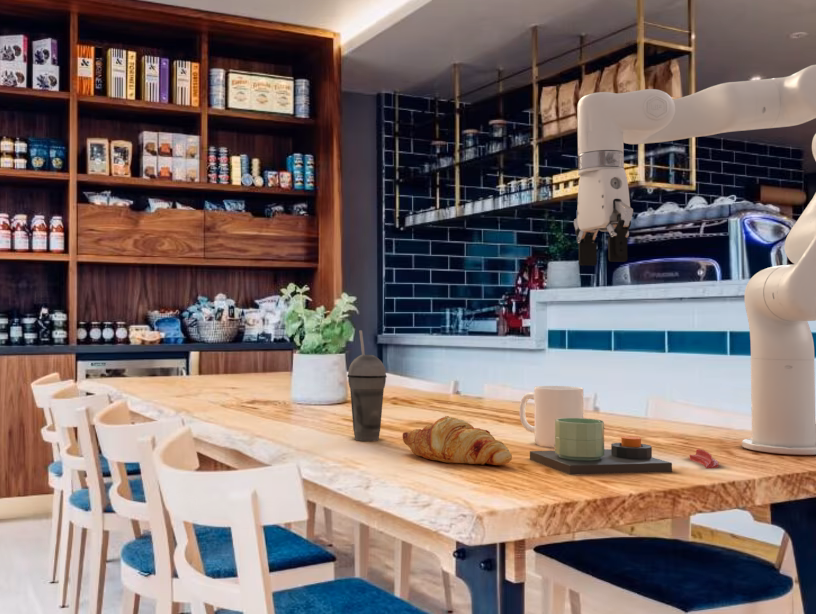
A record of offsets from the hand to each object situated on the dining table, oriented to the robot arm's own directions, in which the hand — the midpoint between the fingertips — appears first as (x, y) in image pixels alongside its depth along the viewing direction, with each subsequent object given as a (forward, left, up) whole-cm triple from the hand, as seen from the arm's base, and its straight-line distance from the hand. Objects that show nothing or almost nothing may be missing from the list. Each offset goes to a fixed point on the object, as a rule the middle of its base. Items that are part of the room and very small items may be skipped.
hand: (602, 263), depth 144 cm
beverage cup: (+38, -16, -32) cm, 52 cm away
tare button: (+4, +16, -29) cm, 34 cm away
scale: (+10, +16, -32) cm, 37 cm away
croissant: (+30, +8, -32) cm, 45 cm away
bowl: (+13, +16, -31) cm, 37 cm away
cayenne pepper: (-8, +15, -32) cm, 37 cm away
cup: (+7, -6, -32) cm, 33 cm away
